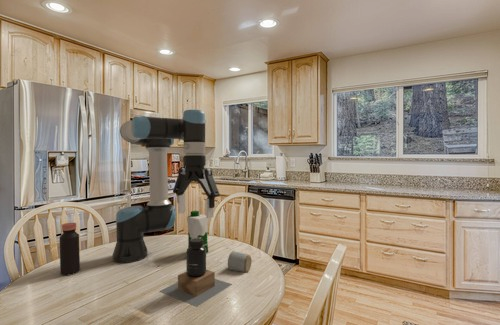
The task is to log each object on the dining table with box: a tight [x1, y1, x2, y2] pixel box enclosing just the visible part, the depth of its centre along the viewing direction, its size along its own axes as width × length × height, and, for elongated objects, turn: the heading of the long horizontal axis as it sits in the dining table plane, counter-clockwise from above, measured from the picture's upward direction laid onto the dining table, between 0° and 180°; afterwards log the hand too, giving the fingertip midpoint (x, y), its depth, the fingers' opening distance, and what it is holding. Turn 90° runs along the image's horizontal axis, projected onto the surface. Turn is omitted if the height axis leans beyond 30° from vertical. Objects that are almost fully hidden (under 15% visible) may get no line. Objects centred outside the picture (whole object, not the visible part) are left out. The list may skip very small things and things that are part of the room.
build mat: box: [158, 278, 233, 307], centre depth 100 cm, size 18×18×1 cm
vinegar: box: [59, 222, 81, 276], centre depth 116 cm, size 7×7×20 cm
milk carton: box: [186, 210, 209, 254], centre depth 138 cm, size 9×9×20 cm
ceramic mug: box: [227, 250, 253, 274], centre depth 118 cm, size 11×8×8 cm
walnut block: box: [177, 269, 216, 296], centre depth 100 cm, size 9×9×5 cm
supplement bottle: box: [185, 238, 207, 277], centre depth 99 cm, size 7×7×12 cm
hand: (195, 215), depth 99 cm, fingers open, 13 cm apart
